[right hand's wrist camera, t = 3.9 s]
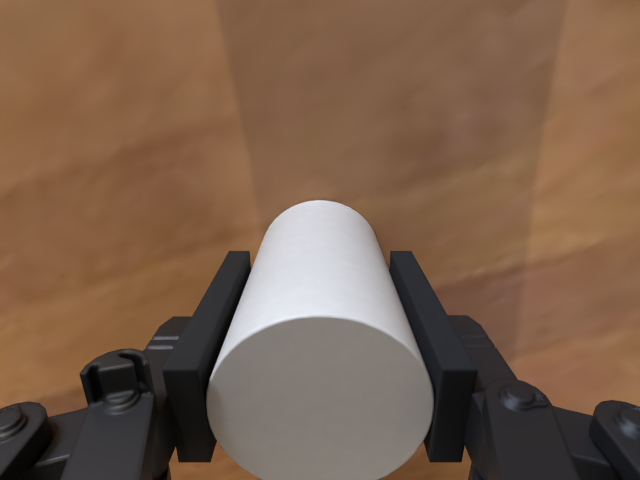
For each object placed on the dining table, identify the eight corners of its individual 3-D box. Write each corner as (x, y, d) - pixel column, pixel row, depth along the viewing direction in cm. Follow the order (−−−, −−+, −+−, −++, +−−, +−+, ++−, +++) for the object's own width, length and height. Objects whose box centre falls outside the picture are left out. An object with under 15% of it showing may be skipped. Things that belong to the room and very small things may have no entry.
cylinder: (236, 250, 17) (156, 401, 9) (328, 174, 16) (338, 267, 8) (312, 327, 18) (307, 522, 10) (402, 264, 17) (479, 425, 9)
